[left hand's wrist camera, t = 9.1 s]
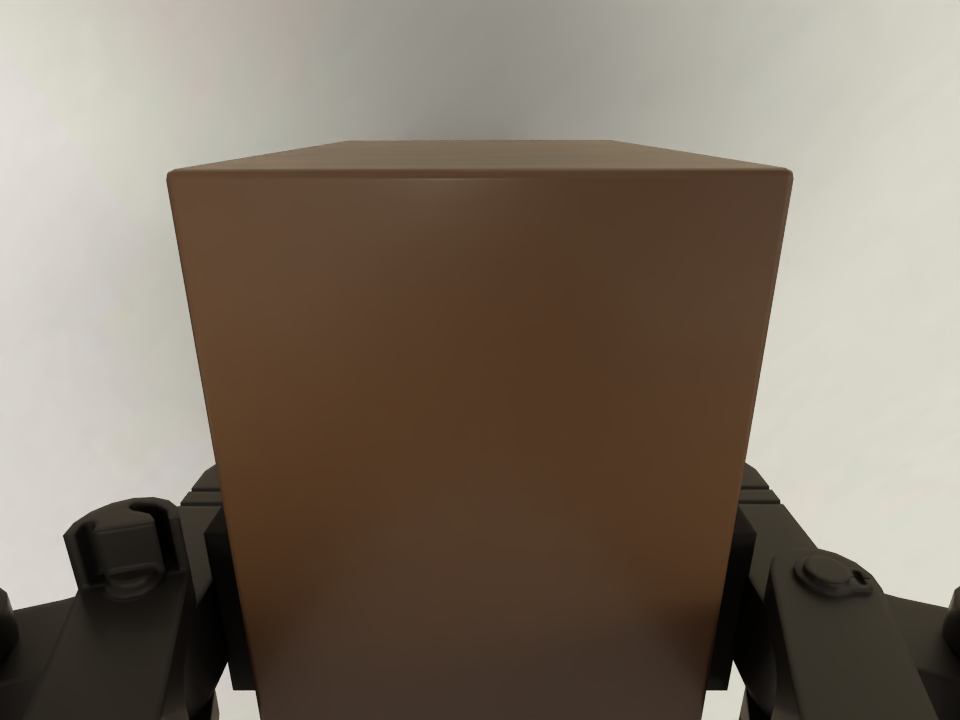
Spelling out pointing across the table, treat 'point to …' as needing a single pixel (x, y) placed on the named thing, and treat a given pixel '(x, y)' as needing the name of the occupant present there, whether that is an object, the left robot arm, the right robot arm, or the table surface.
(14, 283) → the table surface
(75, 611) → the left robot arm
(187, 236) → the beam
